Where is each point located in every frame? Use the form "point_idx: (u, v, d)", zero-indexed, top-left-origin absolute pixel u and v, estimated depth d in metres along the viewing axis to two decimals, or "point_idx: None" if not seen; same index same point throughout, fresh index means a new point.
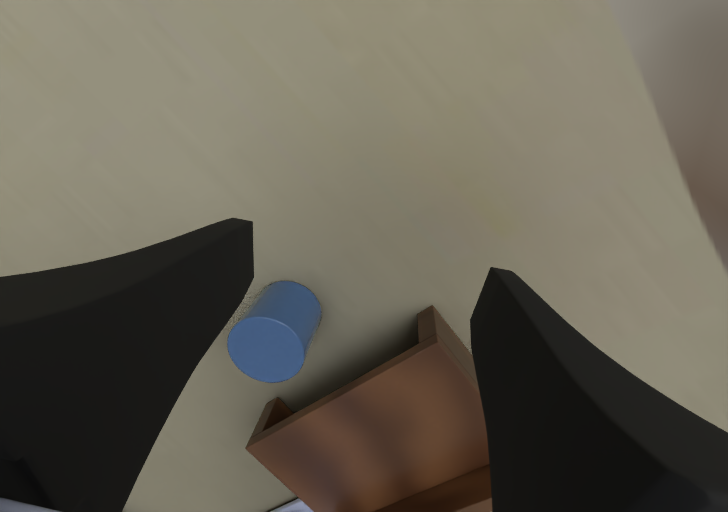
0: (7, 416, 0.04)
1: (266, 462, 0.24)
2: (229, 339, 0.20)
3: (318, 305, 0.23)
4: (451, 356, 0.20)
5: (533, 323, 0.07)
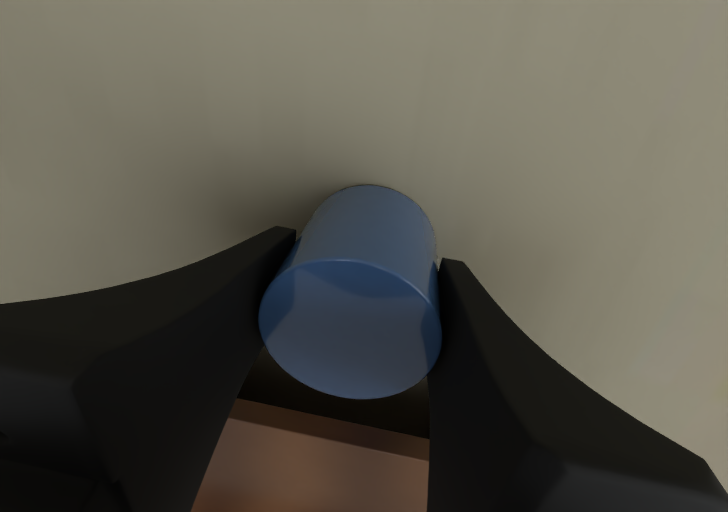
0: (109, 439, 0.04)
1: None
2: (302, 268, 0.08)
3: None
4: None
5: (466, 310, 0.07)
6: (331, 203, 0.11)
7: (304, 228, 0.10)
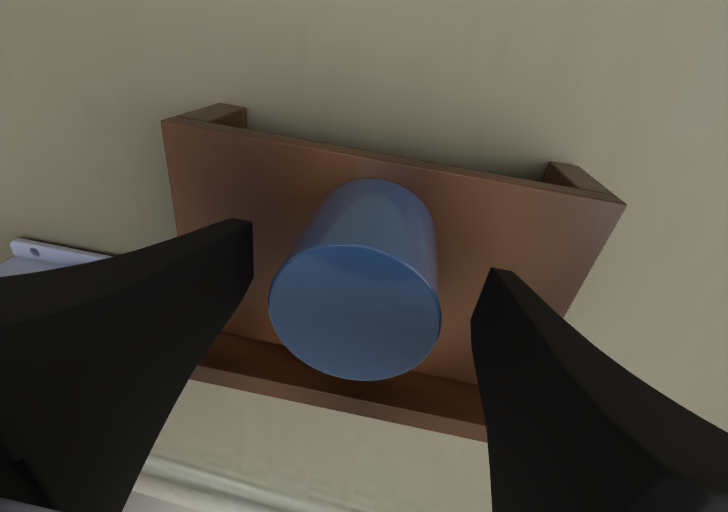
0: (7, 416, 0.04)
1: (179, 173, 0.13)
2: (310, 254, 0.08)
3: None
4: None
5: (533, 323, 0.07)
6: (336, 195, 0.11)
7: (310, 219, 0.11)
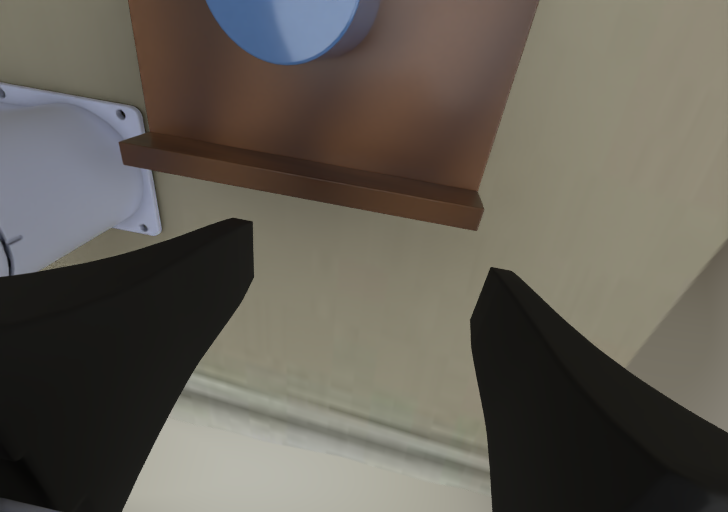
0: (7, 416, 0.04)
1: None
2: None
3: (372, 23, 0.13)
4: None
5: (533, 323, 0.07)
6: None
7: None
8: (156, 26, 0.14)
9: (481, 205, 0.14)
